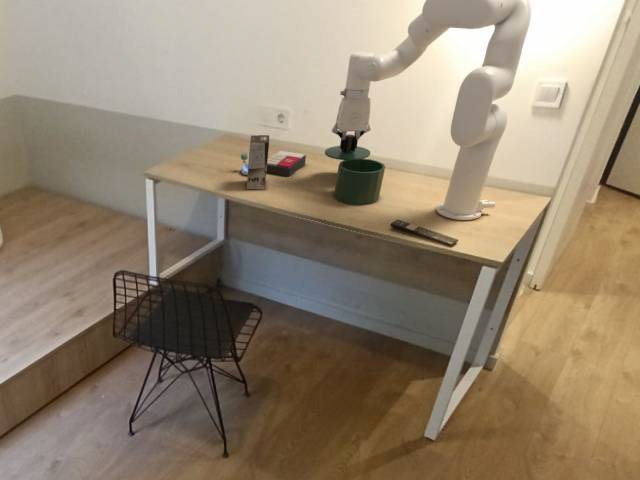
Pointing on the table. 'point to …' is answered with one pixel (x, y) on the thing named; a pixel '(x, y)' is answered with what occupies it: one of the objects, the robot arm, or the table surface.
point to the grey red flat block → (285, 163)
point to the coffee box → (258, 161)
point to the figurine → (245, 167)
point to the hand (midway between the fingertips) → (347, 150)
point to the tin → (359, 181)
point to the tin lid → (347, 151)
